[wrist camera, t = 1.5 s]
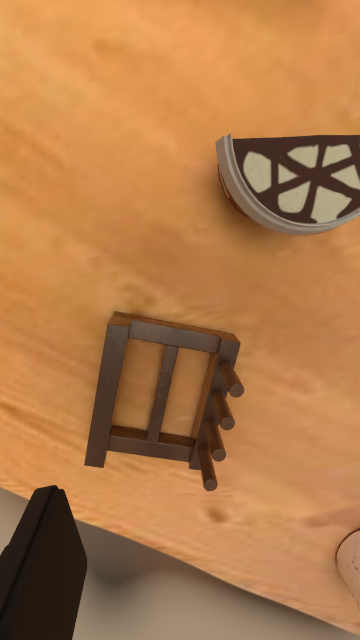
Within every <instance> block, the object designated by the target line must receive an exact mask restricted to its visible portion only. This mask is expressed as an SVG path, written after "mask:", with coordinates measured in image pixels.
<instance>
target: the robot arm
mask: <svg viewBox="0 0 360 640" xmlns="http://www.w3.org/2000/svg"><path fill="white" fill-rule="evenodd" d="M86 570H87V557H86V553H85V550H84V547H83V544H82V541H81V538H80V535H79V532H78V530H77V527H76V524H75V521H74V518H73V515H72V512H71V509H70V506H69V503H68V500H67V497H66V494H65V491H64V490H63V489H59V488H58V487H57V486H56V485H52V486H47V487H43V488H38V489H36V490H35V491H34V492H33V495H32V497H31V499H30V501H29V503H28V505H27V507H26V509H25V511H24V513H23V515H22V518H21V520H20V522H19V524H18V526H17V528H16V530H15V532H14V534H13V536H12V538H11V541H10V543H9V545H7V546H6V547H5V548H4V550H3V552H2V554H1V555H0V640H72V637H73V632H74V627H75V623H76V618H77V613H78V608H79V604H80V599H81V594H82V590H83V585H84V580H85V576H86Z"/></svg>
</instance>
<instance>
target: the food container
mask: <svg viewBox="0 0 360 640" xmlns="http://www.w3.org/2000/svg"><path fill="white" fill-rule="evenodd" d="M216 149H217V158H218V162H219V164H218V169H219V179H220V182H221V185H222V187H223V190H224V193H225V195H226V197H227V198H228V199H229V201H230V202H231V203H232V205H233V206H234V207H235V208H236V209H237V210H238V211H240V212H241V213H243V214H244V215H246V216H247V217H249V218H252V219H253V220H254V221H256V222H258V223H259V224H261V225H262V226H264V227H266V228H268V229H271V230H273V231H276V232H279V233H284V234H288V235H304V236H305V235H312V234H319V233H322V232H326V231H329V230H332V229H334V228H336V227H338V226H340V225H342V224H345V223H347V222H349V221H351V220H353V219H355V218H356V217H358V216H359V215H360V135H314V136H299V137H278V138H249V139H232V133H230V134H229V135H228V136H223V137H222V138H220V139H219V140H218V141H216Z"/></svg>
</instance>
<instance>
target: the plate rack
mask: <svg viewBox="0 0 360 640" xmlns="http://www.w3.org/2000/svg"><path fill="white" fill-rule="evenodd" d="M129 338H133V339H138V340H144V341H149V342H155V343H160V344H165V349H164V354H163V359H162V364H161V368H160V373H159V378H158V382H157V387H156V392H155V397H154V401H153V406H152V411H151V415H150V420H149V425H148V429H147V431H144V430H138V429H131V428H125V427H118V426H113V421H114V416H115V410H116V405H117V400H118V394H119V389H120V383H121V378H122V372H123V367H124V361H125V356H126V351H127V345H128V340H129ZM240 344H241V343H240V342H239V340H238V339H237V338H236V336H235V335H234V334H230V333H225V332H220V331H214V330H209V329H203V328H198V327H193V326H187V325H182V324H177V323H172V322H166V321H161V320H156V319H151V318H145V317H140V316H135V315H130V314H125V313H120V312H114V313H113V315H112V317H111V319H110V321H109V322H108V325H107V331H106V337H105V343H104V349H103V355H102V361H101V367H100V373H99V379H98V385H97V391H96V397H95V403H94V409H93V415H92V421H91V427H90V433H89V440H88V446H87V452H86V458H85V464H84V465H85V466H93V467H100V468H104V464H105V459H106V455H107V451H115V452H122V453H129V454H136V455H142V456H149V457H156V458H163V459H170V460H177V461H184V462H188V463H189V469H194V470H201V474H202V480H203V485H204V488H205V489H206V490H207V491H213V490H215V489H216V488H217V485H218V484H217V480H216V475H215V471H214V467H213V462H212V458H213V460H215V461H222V460H224V459H225V457H226V452H225V449H224V446H223V442H222V439H221V436H220V432H219V429H218V425H219V423H220V426H221V428H222V429H224V430H230V429H232V428H233V427H234V425H235V421H234V419H233V416H232V414H231V411H230V409H229V406H228V404H227V401H226V396H227V392H228V391H229V393H230V395H231V396H233V397H240V396H241V395H242V394H243V393H244V387H243V385H242V383H241V382H240V380H239V378H238V376H237V374H236V372H235V371H234V366H235V362H236V358H237V355H238V351H239V347H240ZM178 347H182V348H187V349H193V350H198V351H204V352H209V353H211V357H210V361H209V365H208V369H207V373H206V377H205V381H204V385H203V389H202V393H201V397H200V401H199V405H198V409H197V413H196V417H195V421H194V425H193V429H192V433H191V437H184V436H177V435H171V434H164V433H160V429H161V424H162V420H163V415H164V411H165V406H166V402H167V397H168V393H169V388H170V384H171V379H172V375H173V370H174V366H175V361H176V357H177V352H178ZM211 455H212V458H211Z"/></svg>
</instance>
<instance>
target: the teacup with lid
mask: <svg viewBox="0 0 360 640" xmlns="http://www.w3.org/2000/svg"><path fill="white" fill-rule="evenodd" d="M336 561H337V567H338V569H339V572H340V573H341V575H342V577H343V579H344V581H345V583H346V585H347V587H348V588H349V590H350V592H351V594H352V596H353V598H354V600H355V602H356V603H357V605H358V607H359V609H360V530H358V531H356V532H354V533H353V534H351V535H350V536H349V537H348V538H346V539H345V540H344V542H343V543H342V544H341V546H340V548H339V550H338V553H337V558H336Z"/></svg>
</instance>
